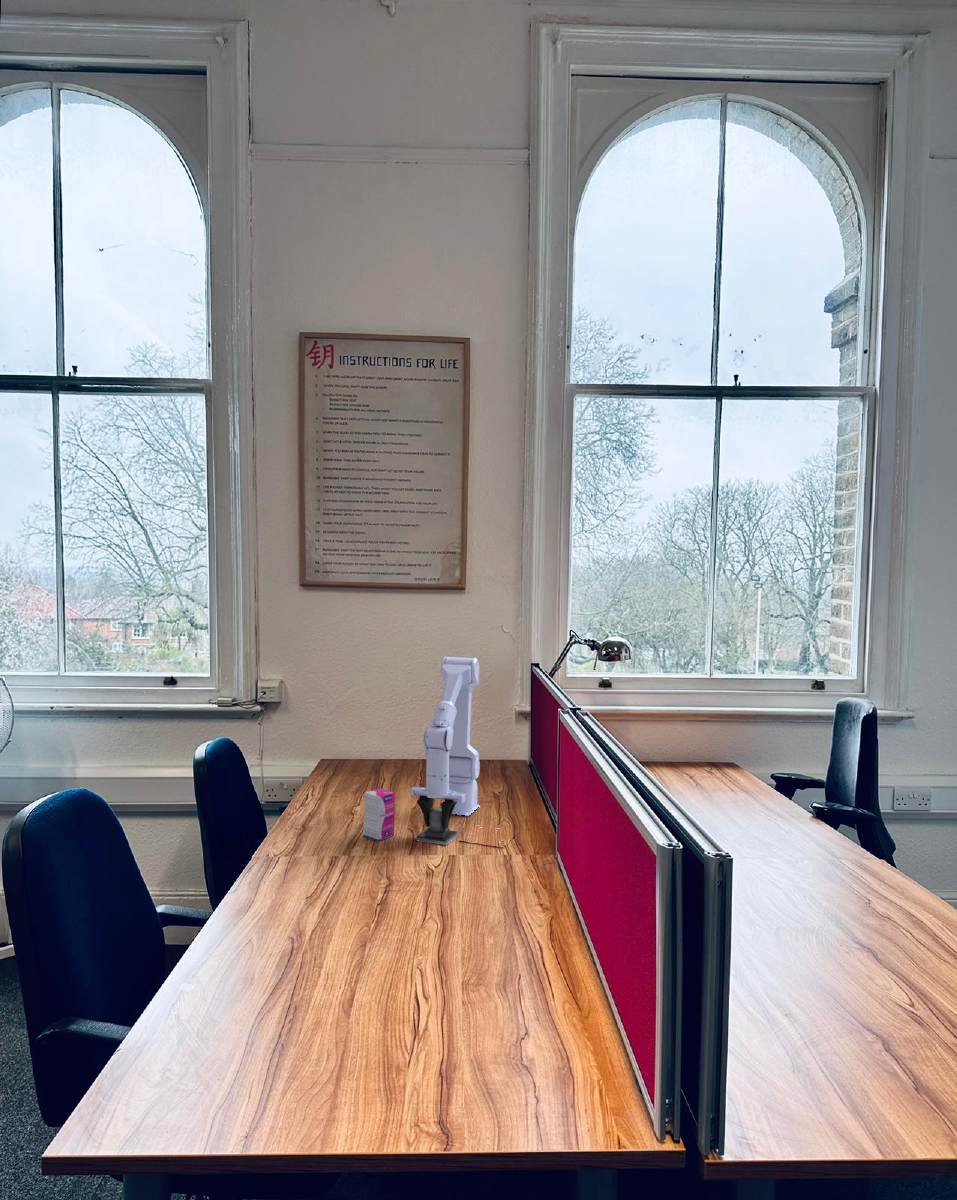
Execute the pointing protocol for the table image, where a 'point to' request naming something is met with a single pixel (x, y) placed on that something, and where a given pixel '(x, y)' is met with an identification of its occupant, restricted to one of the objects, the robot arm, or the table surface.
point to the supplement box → (379, 814)
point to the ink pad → (444, 841)
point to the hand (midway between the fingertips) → (437, 827)
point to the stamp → (436, 824)
